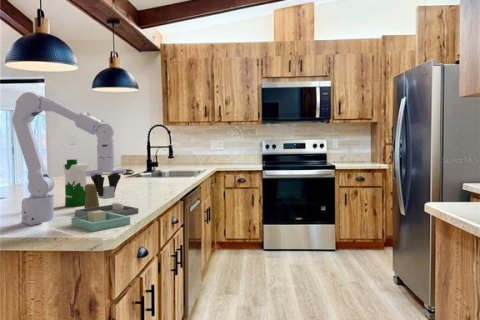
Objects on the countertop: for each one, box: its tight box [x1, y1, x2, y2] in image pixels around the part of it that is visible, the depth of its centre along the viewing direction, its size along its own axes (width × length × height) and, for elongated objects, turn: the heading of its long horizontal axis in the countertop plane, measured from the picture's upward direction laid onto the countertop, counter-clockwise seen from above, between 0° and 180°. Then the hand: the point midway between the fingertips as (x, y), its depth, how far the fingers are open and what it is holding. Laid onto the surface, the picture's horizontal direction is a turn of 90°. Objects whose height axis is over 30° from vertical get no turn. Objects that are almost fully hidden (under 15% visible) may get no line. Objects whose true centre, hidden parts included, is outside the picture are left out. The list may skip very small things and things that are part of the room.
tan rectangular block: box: [88, 210, 106, 222], centre depth 126 cm, size 4×4×4 cm
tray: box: [74, 204, 139, 217], centre depth 143 cm, size 17×15×2 cm
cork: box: [83, 183, 100, 209], centre depth 152 cm, size 6×6×11 cm
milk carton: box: [62, 159, 90, 208], centre depth 166 cm, size 9×9×20 cm
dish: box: [70, 212, 131, 233], centre depth 125 cm, size 13×13×3 cm
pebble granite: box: [111, 201, 124, 212], centre depth 146 cm, size 4×4×4 cm
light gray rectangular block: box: [98, 185, 116, 200], centre depth 138 cm, size 4×4×4 cm
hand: (106, 195), depth 138 cm, fingers closed on light gray rectangular block, 4 cm apart
